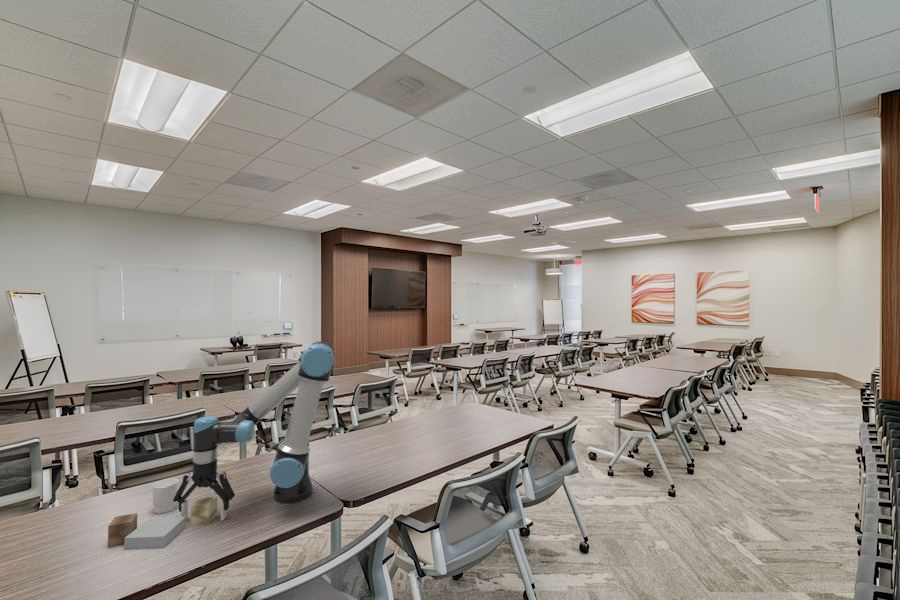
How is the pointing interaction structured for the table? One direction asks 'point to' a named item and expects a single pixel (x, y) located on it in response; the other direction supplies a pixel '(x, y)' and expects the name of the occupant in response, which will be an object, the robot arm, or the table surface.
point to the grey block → (155, 533)
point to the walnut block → (121, 529)
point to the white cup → (164, 495)
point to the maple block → (203, 510)
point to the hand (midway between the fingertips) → (204, 519)
